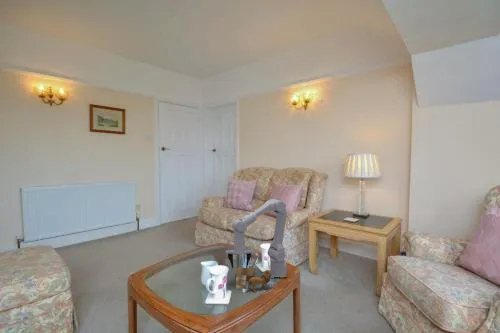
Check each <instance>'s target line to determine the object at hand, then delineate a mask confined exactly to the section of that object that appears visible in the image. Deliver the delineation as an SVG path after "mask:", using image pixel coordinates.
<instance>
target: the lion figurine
mask: <svg viewBox="0 0 500 333" xmlns="http://www.w3.org/2000/svg"><path fill="white" fill-rule="evenodd" d="M271 279H272V278H271V271H270V270H269V269H266V270H264V272H263V274H262V275H261V276H259V277H257V276H254V277H252V278H251V279H250V280H249V281H247V282H248V283H247V287H246V288H247V289H245V290H246V291H245V292H248V291H250V290H251V288H250V287H251V286H252V291H253V292H254V293H257V289H256V288H255V287H256V284H257V285H259V286H261V288H262V289H263V288H264V290H265V291H267V290H268V288H267V285H268V283H270V281H271ZM266 289H267V290H266Z"/></svg>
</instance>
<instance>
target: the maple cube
mask: <svg viewBox="0 0 500 333" xmlns="http://www.w3.org/2000/svg"><path fill="white" fill-rule="evenodd" d="M235 288H236V289H238V290H240V289H241V290H243V289H244V290H247V289H246V288H247V281H246V275H237V277H236V281H235Z"/></svg>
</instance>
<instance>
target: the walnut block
mask: <svg viewBox="0 0 500 333" xmlns="http://www.w3.org/2000/svg"><path fill="white" fill-rule="evenodd" d="M237 275H246V282H249V280H250V279H251V278H252V277H255V268H254V267H248V268H246V267H237V268H236V271H235V275H234V278H235V279H234V280H235V282H236V277H237Z"/></svg>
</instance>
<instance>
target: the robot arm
mask: <svg viewBox="0 0 500 333" xmlns="http://www.w3.org/2000/svg"><path fill="white" fill-rule="evenodd" d="M286 207H287V204H286V203H285V202H284V201H283V200H279V199H275V198H269V200H267V201H265V203H263V204H262V205H261V206H259V207H258V208H257V209H256V210H254V211H253V212H252V211H250V212H249V211H247V212H246V213H245V215H244V216H242V217H240V218H239V219H235V220H234V221H233V222H232V225H231V228H232V229H233V246H234V247H233V249H227V250H225V256H227V258H228V260H229V263H230V266H231V269H234V255H246V258H245V259H246V263H245V264H246V265H245V266H246V267H245V268H249V263H250V260H251V257H252V255H254V249H246V239H245V238H246V236H245V235H246V234H245V231H246V230H247V228H248V227H249V226H251V225H252V224H253V223H255V222H256V221H257V218H258V217H260V216H262V215H264V214H265V213H267V212H268V211H270V212H271V211H272V212H274V214H275V215H276V221H275V225H274V233H273V240H272V242H271V243H270V244H269V247H268V249H267V255H268V256H269V269H270V271H271V279H273V278H274V277H278V276H283V275H286V276H287V272H288V271H287V260H286V259H285V258H286V253H285V251H286V250H285V246H284V245H283V244H284V242H283V240H284V234H285V228H286V222H287V213H288V212H287V209H286ZM274 279H275V278H274Z"/></svg>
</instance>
